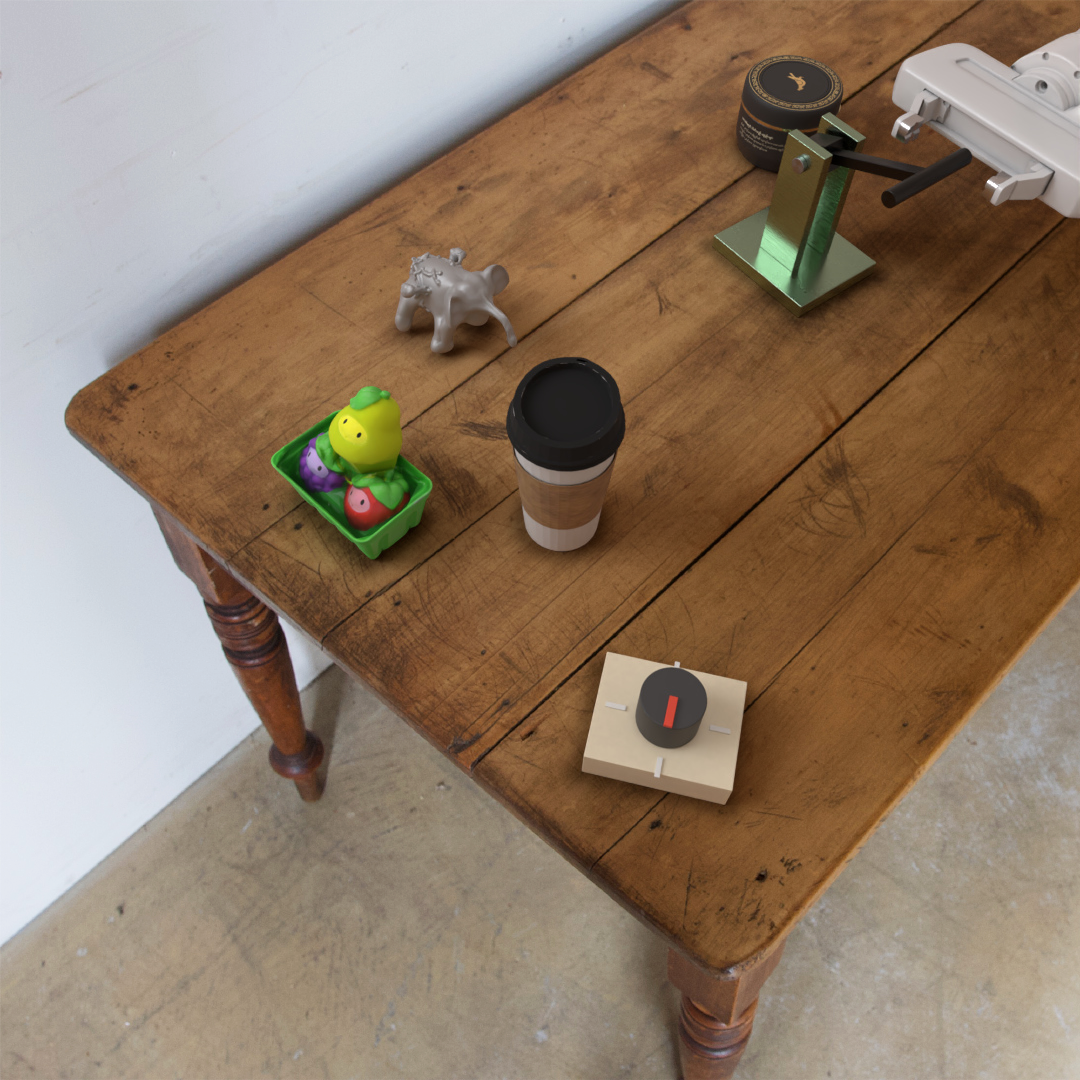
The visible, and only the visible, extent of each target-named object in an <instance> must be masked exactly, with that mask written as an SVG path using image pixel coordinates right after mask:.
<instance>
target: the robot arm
mask: <svg viewBox="0 0 1080 1080" xmlns="http://www.w3.org/2000/svg"><path fill="white" fill-rule="evenodd" d="M891 101H892V103H893V104H894V105H895V106H897V107H898V108H900V109H901V110H902V111H904V112H906V113H904V114H902V115H900V116H899V117H898V118H897V119H896V120H895V121H894V124H893V127H892V130H891V132H890V135H891V137H892V138H894V139H896V140H897V141H898V142H901V143H902V144H903V145H908V144H909V143H910V142H914V141H915V140H917V139H918V137H919V135H920V133H921V130H920V129H921V128H922V127H923V125H925V126H927V127H929V128H930V129H931V130H933V131H934V132H936V133H938V135H940V136H942V137H944V138H945V139H947V140H948V141H949V142H951V143H953V144H954V145H956V146H957V147H959V149H961V148H967V149H969V150H970V152H971V153H972V157H974V158H975V159H977V160H979V161H980V162H982V163H983V164H985V165H986V166H988V167H989V168H991V169H992V170H994V171H995V172H997V173H996V175H992V176H991V177H990V178H988V180H987V181H986V183H985V184H984V190H981V193H980V197H982V198H984V199H985V200H986V201H988V202H989V203H990V204H992V205H993V206H994V207H997V206H999V205H1001V204H1002V203H1004V202H1006V201H1007V200H1009V201H1026V200H1027V201H1032V200H1034V199H1038V200H1039V201H1040V202H1042V203H1043V204H1046V206H1048V207H1050V208H1051V209H1053V210H1054V211H1056V212H1057V213H1059V214H1060V215H1062V216H1063V217H1065V218H1069V219H1080V28H1078V30H1076V31H1074V32H1070V33H1067V34H1063V35H1062V36H1060V37H1057V38H1056V39H1054V40H1052V41H1050V42H1048V43H1046V44H1044V45H1043V46H1041V47H1039V48H1037V49H1035V50H1033V51H1030V52H1029V53H1027V54H1025V55H1023V56H1022V57H1020V58H1019V59H1017V60H1016V61H1015V62H1014V63H1012V65H1010V66H1007V64H1004V63H1003V62H1001V61H999V60H998V59H996V58H994V57H992V56H991V55H990V54H988V53H986V52H984V51H983V50H981V49H979V48H978V47H976V46H973V45H971V44H968V43H964V42H952V43H947V44H944V45H939V46H936V47H933V48H930V49H927V50H925V51H922V52H920V53H917V54H914V55H911V56H910V57H908V58H906V59H905V60H904V61H903V62H902V63H901V65H900V67H899V69H898V72H897V75H896V77H895V80H894V84H893V87H892V93H891Z"/></svg>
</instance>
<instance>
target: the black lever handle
mask: <svg viewBox="0 0 1080 1080" xmlns="http://www.w3.org/2000/svg"><path fill="white" fill-rule="evenodd" d="M809 138H810V139H811V140H813V141H814V142H816V143H817V144H818V145H820V146H821V147H823V148H824V149H825V150H827V151H828V152H830V153H831V154H832V155H833V157H832V160H831V164H830V167H829V170H828V173H829V172H831V171H833V170H835V169H836V168H838V167H840V166H841V167H845V168H849V169H853V170H855V171H858V172H862V173H866V174H871V175H874V176H877V177H878V176H879V177H883V178H887V179H891V180H895V181H898V183H896V184H895V185H893V186H891V187H889V188H887V189H885V190H884V191H882V193H881V195H880V201H881V204H882V205H883V206H884V207H885V208H886V209H893V208H895V207H897V206H899V205H900V204H902V203H903V202H905V201H907V200H910V199H911V198H912V197H914V196H916V195H918V194H919V193H921V192H923V191H925V190H926V189H928V188H931V187H932V186H933V185H936V184H937V183H940V182H941V181H942V180H944V179H946V178H948V177H950V176H951V175H953V174H956V173H957V172H958V171H960V170H962V169H964V168H966V167H967V166H969V165H970V164H971V163H972V161H973V155H972V153H971V152H970V150H969V149H967V148H959V149H957V150H955V151H954V152H952V153H950V154H948V155H946V156H944V157H942V158H941V159H939V160H938V161H936V162H934V163H932V164H930V165H928V166H927V167H924V166H920V165H914V164H910V163H907V162H906V163H905V162H902V161H896V160H894V159H893V160H892V159H888V158H885V157H879V156H875V155H870V154H866V153H862V152H861V153H857V152H853V151H848V150H844V149H843V138H842V137H837V136H832V135H828V134H823V133H817V134H815V135H813V136H811V137H809Z"/></svg>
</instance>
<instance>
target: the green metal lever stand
mask: <svg viewBox="0 0 1080 1080" xmlns="http://www.w3.org/2000/svg"><path fill="white" fill-rule="evenodd" d="M817 133H823V134H828V135H832V136H837V137H842V138H843V149H844V150H848V151H853V152H857V153H862V152H863V150H864V146H865V142H866V139H867V137H866V136H865V135H863V134H862V133H861V132H859V131H858V130H856V129H855V128H853V127H852V126H851V125H849V124H847V123H846V122H844V121H843V120H841V119H840V118H838V116H837V117H836V116H834V115H833V114H831V113H830V112H829V113H827V114H825V115H823V116H822V117H821V120H820V124H819V127H818V131H817ZM832 157H833V155H832V154H831V153H830V152H828V151H827V150H825V149H824V148H823V147H821V146H820V145H818V144H817V143H816V142H814V141H813V140H811V139H810V138H809V137H807V136H806V135H804V134H803V133H802V132H800V131H799V130H797V129H795V130H793V131H791V132H789V133H788V136H787V140H786V144H785V148H784V152H783V156H782V160H781V164H780V168H779V172H778V173H777V177H776V182H775V185H774V189H773V192H772V197H771V202H770V205H768V206H766V207H765V208H762V209H760V210H759V211H757V212H755V213H753V214H751V215H749V216H747V217H746V218H744V219H742V220H740V221H738V222H736V223H734V224H732V225H731V226H729V227H727V228H725V229H723V230H721V231H720V232H718V233H716V234H714V235H713V239H712V245H711V246H712V248H714V249H715V250H716V251H717V252H718V253H719V254H720V255H722V257H724V258H726V259H727V260H728V261H729V262H730V263H731V264H733V265H734V266H735V267H736V268H737V269H738V270H740V271H741V272H742V273H743V274H745V275H746V276H747V277H748V278H749V279H751V280H752V281H753V282H754V283H755V284H757V285H758V286H759V287H760V288H762V289H763V291H765V292H767V293H768V295H770V296H771V297H772V298H773V299H775V300H776V301H777V302H778V303H780V304H781V305H782V306H783V307H784V308H786V309H787V310H788V311H789V312H791V313H792V314H793V315H794V316H795V317H796V318H800V317H802V316H803V315H805V314H807V313H808V312H810V311H812V310H813V309H815V308H817V307H818V306H820V305H822V304H824V303H826V302H827V301H829V300H831V299H833V297H836V296H837V295H839V294H840V293H842V292H843V291H846V290H847V289H850V288H851V287H852V286H854V285H856V284H858V283H859V282H861V281H863V280H864V279H865V278H867V277H870V275H873V273H874V270H875V268H876V265H877V262H876V261H875V260H874V259H872V258H871V257H869V256H868V255H867V254H866V253H865V252H863V251H861V249H859V248H858V247H857V246H855V245H854V244H853V243H851V242H850V241H849V240H847V239H846V238H845V237H843V235H841V234H840V233H838V232H837V229H838V225H839V222H840V219H841V216H842V213H843V211H844V207H845V205H846V201H847V198H848V195H849V192H850V189H851V185H852V182H853V180H854V176H855V173H856V170H853V169H849V168H845V167H841V166H840V167H838V168H836V169H835V170H833V171H831V172H829V173H828V170H829V167H830V164H831V160H832Z"/></svg>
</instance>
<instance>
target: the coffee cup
mask: <svg viewBox="0 0 1080 1080" xmlns="http://www.w3.org/2000/svg"><path fill="white" fill-rule="evenodd" d="M620 392H621V391H620V388H619V385H618V383H617V381H616V380H615V378H614V377H613V375H612V374H611V373H610V372H609V371H607V370H606V368H604V367H603V366H601V365H600V364H597V363H596V362H594V361H592V360H590V359H588V358H585V357H582V356H562V357H555V358H550V359H547V360H544V361H541V362H540V363H538V364H537V365H535V366H534V367H532V368H531V369H530V370H529V371H528V372H526V374H525V375H524V376H523V377H522V379H521V380H520V381H519V383H518V385H517V386H516V389H515V392H514V395H513V398H512V399H511V401H510V403H509V405H508V409H507V412H506V418H505V429H506V434H507V437H508V440H509V441H510V444H511V452H512V458H513V463H514V469H515V475H516V481H517V486H518V489H519V490H518V491H519V496H520V502H521V508H522V514H523V515H522V516H523V522H524V527H525V530H526V532H527V534H528V535H529V537H530V538H531V540H533V542H535V543H536V544H537V545H539V546H541V547H542V548H544V549H548V550H550V551H555V552H568V551H573V550H577V549H579V548H581V547H583V546H585V545H586V544H587V543H589V541H590V540H591V539H592V538H593V537H594V536H595V533H596V531H597V528H598V525H599V521H600V516H601V512H602V510H603V509H602V508H603V507H604V503H605V499H606V496H607V493H608V489H609V485H610V482H611V478H612V474H613V471H614V467H615V464H616V461H617V455H618V452H619V448H620V446H621V444H622V443H623V441H624V439H625V435H626V430H627V428H626V426H627V425H626V413H625V409H624V406H623V402H622V397H621V393H620Z"/></svg>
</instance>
